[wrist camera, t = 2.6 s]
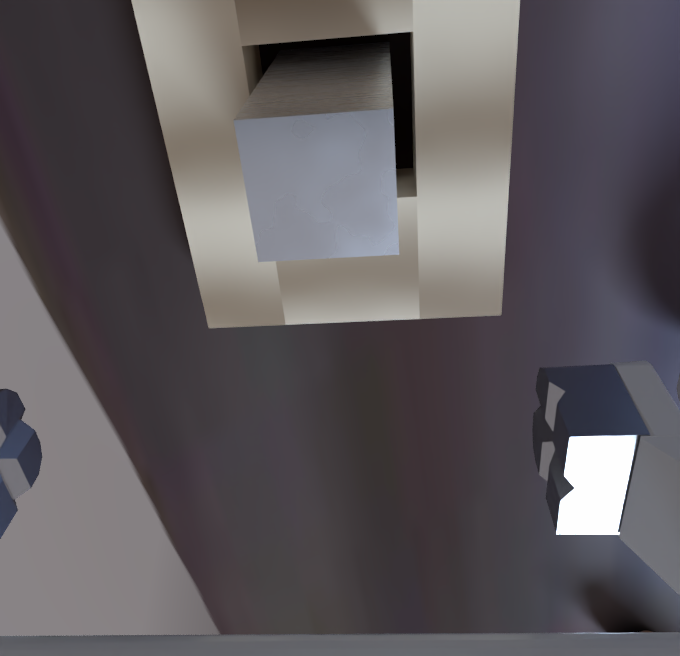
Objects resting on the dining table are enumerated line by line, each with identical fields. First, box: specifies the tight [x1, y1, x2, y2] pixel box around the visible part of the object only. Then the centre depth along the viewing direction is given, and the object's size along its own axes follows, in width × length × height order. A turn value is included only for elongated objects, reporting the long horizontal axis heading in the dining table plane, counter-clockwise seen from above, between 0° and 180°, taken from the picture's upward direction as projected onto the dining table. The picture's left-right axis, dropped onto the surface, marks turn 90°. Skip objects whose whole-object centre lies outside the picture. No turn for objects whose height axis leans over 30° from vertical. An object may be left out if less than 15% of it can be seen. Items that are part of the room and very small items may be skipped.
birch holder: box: [131, 0, 520, 328], centre depth 23 cm, size 16×12×3 cm
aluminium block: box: [234, 41, 399, 262], centre depth 21 cm, size 4×4×9 cm
